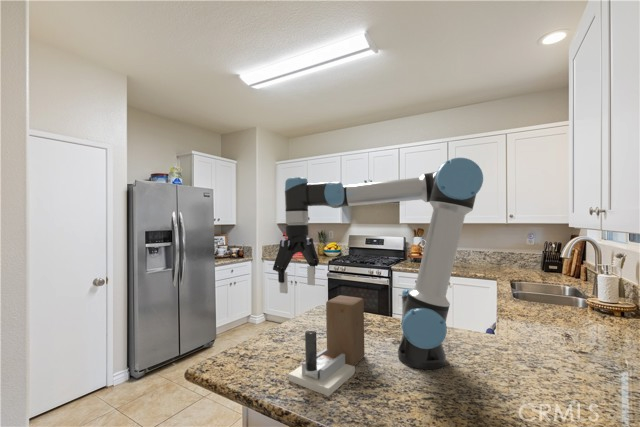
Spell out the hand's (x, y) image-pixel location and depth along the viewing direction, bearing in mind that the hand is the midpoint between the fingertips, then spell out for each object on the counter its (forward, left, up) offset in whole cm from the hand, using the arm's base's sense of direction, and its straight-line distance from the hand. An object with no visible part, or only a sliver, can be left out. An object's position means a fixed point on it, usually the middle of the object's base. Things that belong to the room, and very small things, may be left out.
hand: (298, 288), depth 98 cm
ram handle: (-11, +4, -22) cm, 25 cm away
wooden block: (-11, -11, -25) cm, 29 cm away
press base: (-11, +3, -24) cm, 27 cm away
